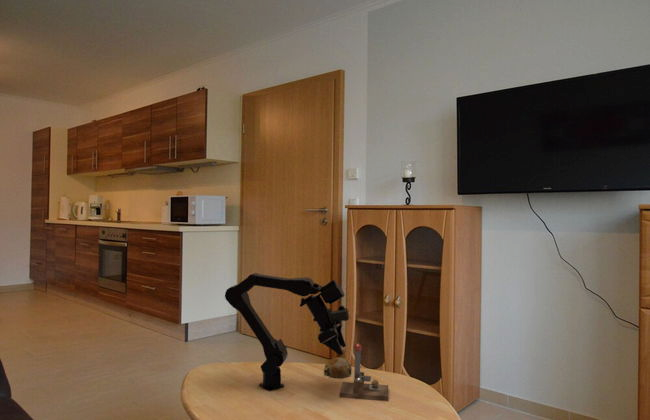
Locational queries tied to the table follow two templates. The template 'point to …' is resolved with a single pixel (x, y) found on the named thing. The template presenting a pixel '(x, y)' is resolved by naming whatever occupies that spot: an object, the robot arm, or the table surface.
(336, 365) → the bread roll
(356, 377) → the lever
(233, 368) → the table surface
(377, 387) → the base
